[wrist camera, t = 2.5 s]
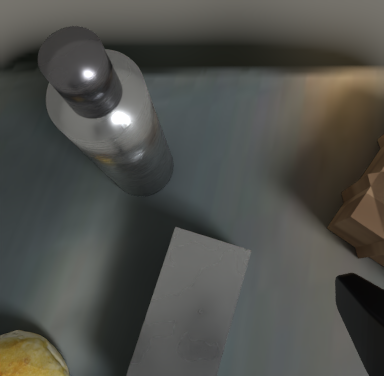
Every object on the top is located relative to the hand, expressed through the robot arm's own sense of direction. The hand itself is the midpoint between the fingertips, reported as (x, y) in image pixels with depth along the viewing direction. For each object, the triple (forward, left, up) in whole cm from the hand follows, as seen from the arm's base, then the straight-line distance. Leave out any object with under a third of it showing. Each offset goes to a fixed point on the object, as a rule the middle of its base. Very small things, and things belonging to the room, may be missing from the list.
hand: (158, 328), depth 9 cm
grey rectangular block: (-2, -1, -13) cm, 13 cm away
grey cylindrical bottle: (+5, +8, -13) cm, 16 cm away
